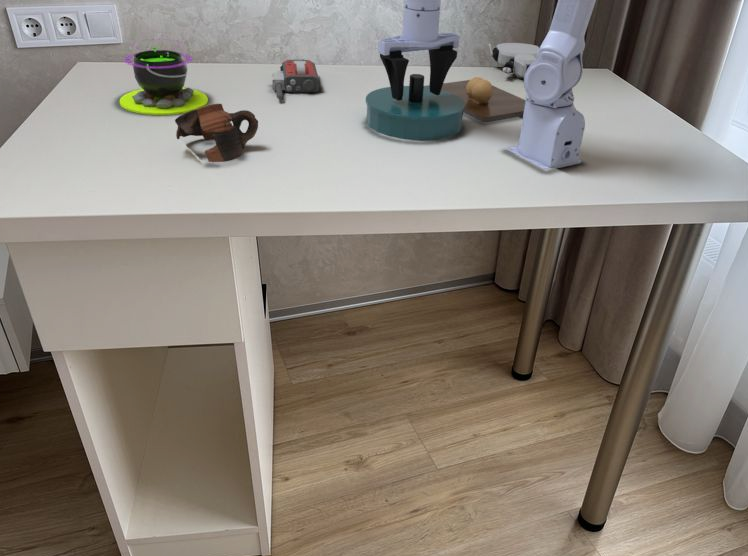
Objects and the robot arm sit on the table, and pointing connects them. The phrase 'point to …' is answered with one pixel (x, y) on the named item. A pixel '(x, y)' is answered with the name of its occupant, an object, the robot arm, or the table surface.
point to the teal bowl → (414, 126)
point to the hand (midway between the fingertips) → (416, 96)
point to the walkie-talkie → (296, 77)
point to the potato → (479, 90)
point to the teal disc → (416, 102)
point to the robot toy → (515, 57)
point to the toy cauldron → (161, 84)
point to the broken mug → (218, 130)
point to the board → (495, 109)
